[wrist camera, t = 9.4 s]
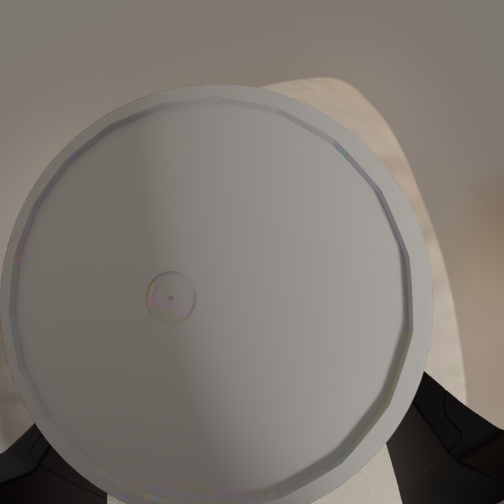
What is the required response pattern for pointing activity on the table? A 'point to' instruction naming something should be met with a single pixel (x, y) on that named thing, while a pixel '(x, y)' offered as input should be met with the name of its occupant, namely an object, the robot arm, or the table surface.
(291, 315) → the bottle
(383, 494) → the table surface
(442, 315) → the table surface
